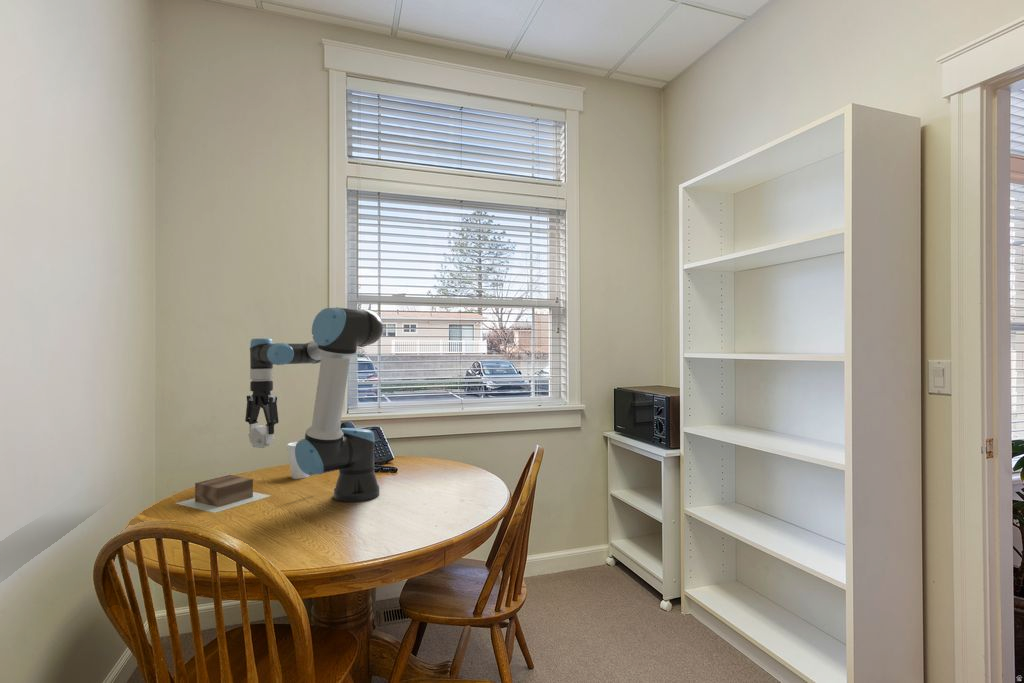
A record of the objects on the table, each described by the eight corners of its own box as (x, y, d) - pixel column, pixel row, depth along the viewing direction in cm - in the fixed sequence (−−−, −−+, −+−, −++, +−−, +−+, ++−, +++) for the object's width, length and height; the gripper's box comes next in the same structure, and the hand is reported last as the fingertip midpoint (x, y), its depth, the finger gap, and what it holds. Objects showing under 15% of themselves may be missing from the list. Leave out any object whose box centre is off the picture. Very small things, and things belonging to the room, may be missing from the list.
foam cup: (296, 473, 210) (296, 440, 210) (317, 474, 209) (317, 441, 209) (282, 479, 201) (282, 445, 201) (305, 480, 200) (305, 446, 200)
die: (248, 452, 186) (265, 430, 186) (239, 438, 191) (255, 416, 191) (267, 456, 193) (283, 435, 193) (257, 442, 197) (273, 422, 198)
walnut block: (252, 497, 174) (252, 479, 174) (218, 507, 164) (218, 488, 164) (229, 492, 180) (229, 474, 180) (195, 501, 169) (195, 483, 169)
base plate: (271, 498, 176) (271, 495, 176) (214, 516, 158) (214, 512, 158) (233, 490, 185) (233, 487, 185) (175, 506, 167) (175, 503, 167)
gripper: (289, 380, 191) (289, 442, 190) (252, 379, 200) (252, 438, 200) (271, 381, 184) (271, 446, 184) (234, 380, 193) (234, 441, 193)
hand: (261, 442), depth 192 cm, fingers closed on die, 8 cm apart
